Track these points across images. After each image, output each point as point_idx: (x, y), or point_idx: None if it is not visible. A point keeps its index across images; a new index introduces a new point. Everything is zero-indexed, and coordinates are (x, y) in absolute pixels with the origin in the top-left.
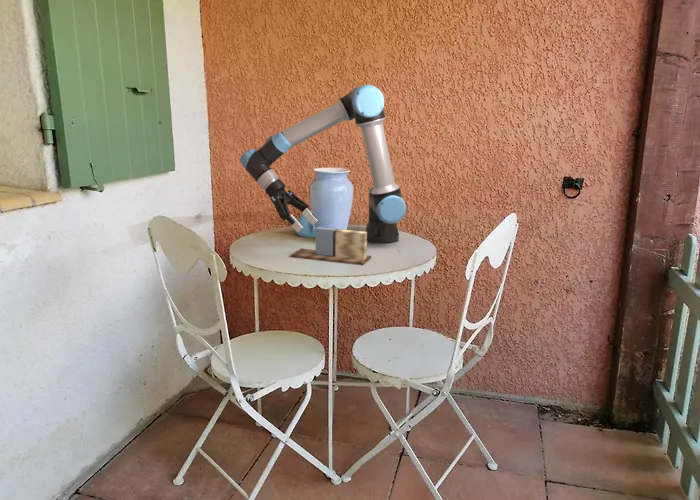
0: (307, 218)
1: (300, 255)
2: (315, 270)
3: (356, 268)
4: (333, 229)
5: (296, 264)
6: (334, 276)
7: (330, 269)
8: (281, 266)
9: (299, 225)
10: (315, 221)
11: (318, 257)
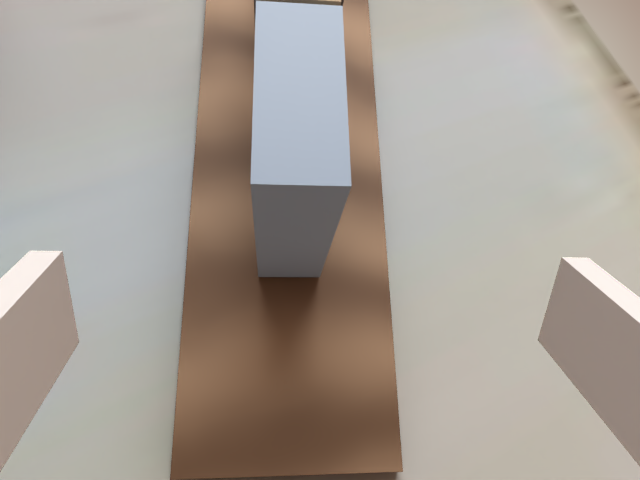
0: (12, 431)
1: (390, 377)
2: (579, 174)
3: (431, 4)
4: (313, 7)
5: (538, 332)
6: (608, 59)
7: (517, 110)
8: None
9: (618, 290)
10: (60, 280)
11: (380, 230)
